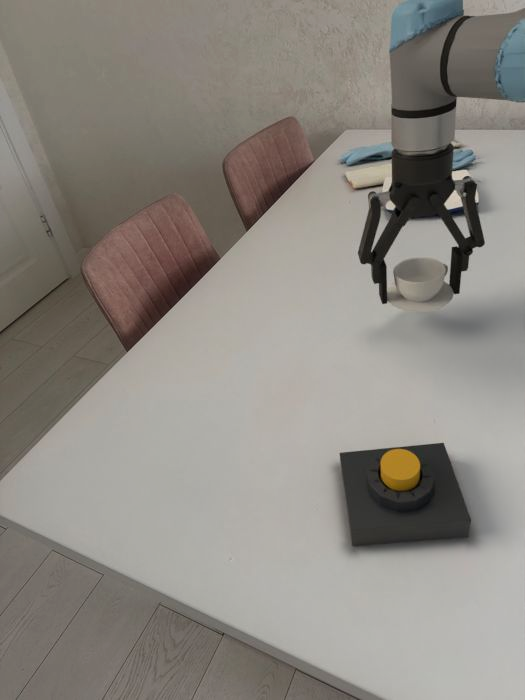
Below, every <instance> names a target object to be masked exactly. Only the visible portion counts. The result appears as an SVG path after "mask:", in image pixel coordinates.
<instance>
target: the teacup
mask: <svg viewBox="0 0 525 700" xmlns="http://www.w3.org/2000/svg"><path fill="white" fill-rule="evenodd" d="M392 272H393V278H394V279H393V281H394V282H392V283H390V284H389V286H387V303H388V304H390V305H391V306H392V307H394V308H396V309H397V310H401V311H405V312H412V313H426V312H432V311H436V310H439V309H441V308H443V307H445V306H447V305H448V304H449V303H450V302H451V301H452V299H453V297H454V295H455V294H454V293H453V289H452V288H451V286H450V285H449V283H448V282H446V281H445V277H446V276H447V274H448V272H449V266H448V265H447V264H445V263H443V262H442V261H440V260H438V259H435V258H432V257H425V256H418V257H417V256H416V257H410V258H406V259H403V260H401V261H399V262H398V263H396V265H395V266H394V267H393V271H392Z"/></svg>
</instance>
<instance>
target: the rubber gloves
mask: <svg viewBox="0 0 525 700" xmlns="http://www.w3.org/2000/svg"><path fill="white" fill-rule="evenodd" d="M451 144H452V145H453V146H454V148H458V149H456V150H454V152H453V168H452V171H456V170H459V169H461V168H462V169H463V168H465V167H467V166H468V165H470V164H471V163H472V162H475V161H476V160H477V157H476V156H475V155H474V151H473V150H472V149H466V150H463V149H461V148H460V149H459V147H461V146H462V143H461V142H456V141H455V140H453V141H452V142H451ZM393 150H394V147H393V146H392V144H391V141H389V142H382V143H379V144H373V145H370V146H359V147H355V148H351V149H350V150H348V151H347V152H345V153H342V154H341V156H340V158H339V162H340V163H342V164H344V163H345V164H346V166H352V165H354V164H356V163H358V162H359V161H362V160H365V161H367V160H384V159H389V158H392V151H393ZM344 173H345V177H346V179H347V181H348V183H350V185H351V187H352V189H353V190H354V189H363V188H368V187H373V186H378V185H384V181H385V177H392V162H388V163H384V164H380V165H376V166H370V167H365V168H360V169H359V168H358V169H354V170H348V171H345V172H344Z"/></svg>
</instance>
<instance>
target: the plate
mask: <svg viewBox="0 0 525 700" xmlns="http://www.w3.org/2000/svg"><path fill="white" fill-rule="evenodd" d="M465 176H470V177H471V178H472V176H471V174H470V173H469V171H468V169H460V170H459V169H458V170H452V179H453V180H462V179H463V178H464V177H465ZM391 183H392V177H385V181H384V184H382V189H381V190H382V191H381V193H382V192H386V191H388V190H389V188H390V186H391ZM475 201H476V206H477V205H479V204H480V203H479V192H478V188H477V189H476V195H475ZM444 205H445V207H446V208H447V210H448V211H449V213H454V212H459V211H464V209H463V205H462V201H461V197H460V196H459V195H458V194H457V192H456V190H454V191H453V193H452V194H451V195H450V197H449V198H448V199H447V201H446V202H445V203H444ZM394 208H395V205H394V204H393V203H392V202H391V200H390V201H388V202H387V203H386V206H385V208H384V210H385V211H386V212H387V213H388V214H391V215H392V212H393V210H394ZM434 215H439V214H438V213H435V214H434Z"/></svg>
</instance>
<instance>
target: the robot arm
mask: <svg viewBox="0 0 525 700" xmlns="http://www.w3.org/2000/svg"><path fill="white" fill-rule="evenodd" d="M464 14H465V9H464V0H405V1H401V2H400V3H399V4H397V5H396V6H395V8H394V9H393V11H392V12H391V17H390V19H391V20H390V41H389V48H388V53H389V61H390V62H389V67H390V86H391V87H390V89H391V107H390V108H391V112H390V113H391V115H390V117H391V122H390V123H391V125H390V126H391V132H390V134H391V138H390V139H391V141H390V142H391V144H392V146H393V147H394V150H393V151H392V157H391V163H392V183H391V186H390V188H389V190H388V191H386V192H382V191H381V192H376V191H369V193H368V194H367V200H368V212H367V215H366V218H365V222H364V227H363V230H362V235H361V238H360V241H359V242H360V243H359V247H358V251H357V257H358V259H359V263H360V264H361V265H366V264H368V265H370V271H371V272H370V274H371V279H372V282H373V284H374V285H376V284H378V295H379V298H380V301H381V305H386V304H388V301H387V288H388V270H387V269H388V267H387V263H386V261H385V259H386V256H387V254H388V253H389V251H390V249H391V247H392V246H393V244H394V242H395V241H396V239H397V237H398V235H399V234H400V232H401V231H402V228H403V227H405V226H406V224H407V223H408V221H409V220H415V219H416V220H417V219H419V218H421V217H425V218H427V217H434V216H435V215H436V214H435V213H438V214H437V215H438V216H439V218H440V219H441V221H442V222H443V223H444V225H445V226H446V228H447V230H448V231H449V233H450V235H451V236H452V238H453V239H454V241H455V242H456V244H457V245H456V246H452V247H451V251H450V252H451V253H450V254H451V255H450V268H449V283H448V284H449V285H450V286H451V288H452V289H453V293H454V295H460V293H461V292H460V291H461V283H462V282H461V279H462V272H467V271H468V269H469V263H470V256H472V255H473V253H474V250H473V249H476V248H482V247H483V246H485V244H486V242H485V241H486V240H485V237H484V233H483V227H482V223H481V219H480V215H479V211H478V206H477V205H476V201H475V195H476V189H477V190H478V184H477V182H475V181H474V179H473V178H472V176H471V175H470V176H471V177H470V176H465V177H464V178H463V179H462V180H453V179H452V172H453V170H452V168H453V152H454V151H455V150H454V149H455V147H454V146H453V145H452V144H451V142H452V141H455V136H456V118H457V101H458V98H470V99H482V100H483V99H484V100H498V101H509V102H512V103H513V102H514V103H520V104H521V103H525V7H523V8H520V9H519V10H516V11H512V12H507V13H498V14H486V15H485V14H484V15H464ZM454 190H456V192H457V194H458V195H459V196H460V197H461V201H462V205H463V213H464V217H465V221H466V225H467V229H468V233H469V236H467V237H465V235H464V234H463V232H462V231H461V229H460V227H459V226H458V223H457V222H456V221H455V219H454V217H452V214H451V212H449V211H448V210H447V208H446V207H445V205H444V203H445V202H446V201H447V199H448V198H449V197H450V195H451V194H452V193H453V191H454ZM390 200H391V202H392V203H393V204H394V205H395V208H394V210H393V212H392V214H391V216H390V218H389V220H388V222H387V224H386V225H385V227H384V228H383V231H382V233H381V234H380V235H379V238H378V240H377V241H376V243H375V239H376V235H377V232H378V229H379V228H378V227H379V224H380V221H381V214H382V211H383V210H385V206H386V203H387V202H388V201H390ZM374 243H375V245H374ZM373 246H374V247H373Z"/></svg>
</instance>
